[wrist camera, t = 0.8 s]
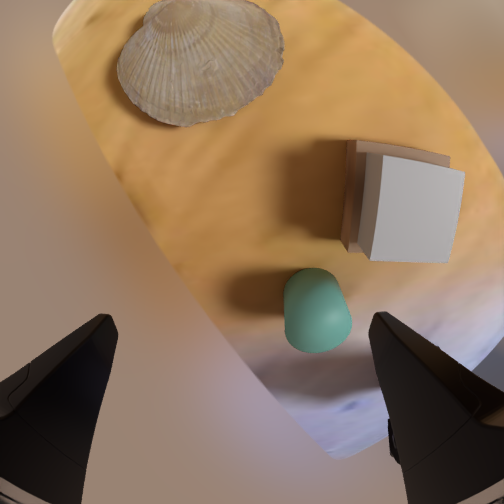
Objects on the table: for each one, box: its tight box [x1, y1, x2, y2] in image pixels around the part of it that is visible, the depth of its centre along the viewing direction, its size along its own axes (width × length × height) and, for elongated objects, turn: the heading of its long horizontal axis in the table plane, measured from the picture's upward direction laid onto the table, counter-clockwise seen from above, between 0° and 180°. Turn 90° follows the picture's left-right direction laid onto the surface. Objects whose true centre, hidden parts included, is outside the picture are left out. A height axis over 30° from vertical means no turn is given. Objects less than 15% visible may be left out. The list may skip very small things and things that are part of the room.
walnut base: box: [340, 140, 450, 253], centre depth 18 cm, size 8×8×3 cm
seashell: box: [117, 0, 284, 127], centre depth 15 cm, size 12×12×3 cm
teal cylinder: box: [283, 268, 352, 353], centre depth 21 cm, size 5×5×5 cm
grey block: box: [357, 153, 465, 263], centre depth 16 cm, size 6×6×3 cm
